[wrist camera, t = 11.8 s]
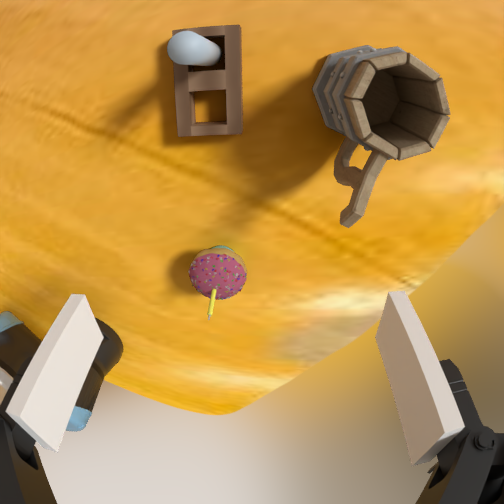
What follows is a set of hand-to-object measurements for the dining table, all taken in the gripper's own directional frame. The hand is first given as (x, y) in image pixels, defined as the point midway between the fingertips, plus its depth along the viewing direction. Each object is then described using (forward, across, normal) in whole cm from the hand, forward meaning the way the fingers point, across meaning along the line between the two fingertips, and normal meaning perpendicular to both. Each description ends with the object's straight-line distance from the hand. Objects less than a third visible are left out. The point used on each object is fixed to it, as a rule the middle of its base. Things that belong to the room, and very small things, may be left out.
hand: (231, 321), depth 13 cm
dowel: (+33, -5, +12) cm, 35 cm away
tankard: (+33, +13, +4) cm, 36 cm away
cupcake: (+33, -5, -18) cm, 38 cm away
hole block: (+33, -5, +9) cm, 34 cm away
